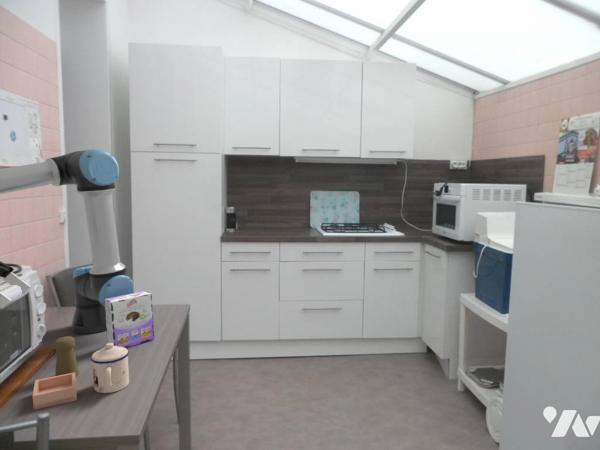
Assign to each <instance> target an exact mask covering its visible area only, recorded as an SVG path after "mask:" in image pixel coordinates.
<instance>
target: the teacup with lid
mask: <svg viewBox="0 0 600 450" xmlns="http://www.w3.org/2000/svg"><path fill="white" fill-rule="evenodd" d="M90 360H91V363H92V378H93V389H94V391H95V392H97V393H99V394H112V393H116V392H118V391H121V390H123V389H125V388H126V387H127V386H128V385H129V384H130V372H129V371H130V370H129V351H128V348H124V347H118V346H114V344H113V343H106V344H105V346H104V347H102V348H100V349H98V350H96V351H95V352H94V353H93V354H92V355H91V358H90Z"/></svg>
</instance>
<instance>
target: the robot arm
mask: <svg viewBox="0 0 600 450" xmlns="http://www.w3.org/2000/svg"><path fill="white" fill-rule="evenodd" d="M119 166H120V165H119V163H118V162H117V159H116V158H115V157H114V156H113V155H112V154H111V153H110V152H108V151H105V150H104V149H103V150H102V149H95V148H94V149H93V148H92V149H87V150H76V151H72V152H69V153H65V154H62V155H59V156H55V157H47V158H46V160H44V162H36V163H29V164H22V165H16V166H10V167H6V168H0V195H2V194H7V193H12V192H18V191H23V190H28V189H34V188H38V187H43V186H44V187H45V186H49V185H52V186H54V187H59V186H67V185H68V186H69V185H74V186H75V185H76V191H77V193H78V194H80V195H81V196H82V197H83V205H84V211H85V216H86V223H87V224H86V225H87V230H88V238H89V244H90V252H91V257H92V265H88V266H82V267H78V268H75V269H74V270H73V272H72V280H73V281H72V282H73V293H74V305H75V307H74V308H75V309H74V313H73V317H72V321H71V331H72V332H73V333H75V334H82V335H84V334H96V333H100V332H105V331H107V327H106V312H105V299H108V298H113V297H118V296H123V295H127V294H132V293H135V283H134V281H133V280H132V279H131V277H129V276H128V275H127V273H128V272H127V268H126V265H125V264H124V263H123V262H121V257H120V251H119V243H118V236H117V235H118V234H117V228H116V220H115V212H114V206H113V205H114V204H113V198H112V197H113V196H112V194H113V193H114V192H115V190H116V182H115V181H116V180H117V178H118V177H119V174H120V167H119ZM14 270H15V269H14V267H12V266H11V265H9V264H6V263H4V262H3V261H0V278H4V279H3V281H5V282H6V283H7V284H9V285H10V286H11V285H18V286H20V287H21V290H22V293H21V294H22V295H25V293H27V291H29V289H31V287H32V286H31V285H30V284H29V283H27V282H26V281H24V280H23V279H22V278H21V277H19V276H18V275H16V274H15V273H14V272H13V271H14ZM11 301H12V299H11V298H10V297H9V296H7V295H6V294H5V293H3V292H2V291H0V308H1V309H4V308H5V307H6V306H7V305H8V304H9V303H10V302H11Z"/></svg>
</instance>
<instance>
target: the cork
mask: <svg viewBox="0 0 600 450" xmlns="http://www.w3.org/2000/svg"><path fill="white" fill-rule="evenodd" d="M53 345H54V350H55V351H56V358H55V359H56V360H55V372H54V373H55V374H54V376H59V375H64V374H69V373H74V372H75V375H76V377H78V376H79V375H80V370H79V366H78V363H77V358H76V357H77V356H76V353H75V349H74V348H75V346H76V340H75V338H74V336H70V335H68V336H62V337H59V338H57V339H55V341H54V344H53Z"/></svg>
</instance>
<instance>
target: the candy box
mask: <svg viewBox="0 0 600 450" xmlns="http://www.w3.org/2000/svg"><path fill="white" fill-rule="evenodd" d="M105 312H106V327H107V330H106V337H107V339H106V340H107V341H106V342H107V343H113V344H114V346H118V347H124V348H126V349H128V348H130V347H134V346H137V345H140V344H143V343H146V342H150V341H153V340H155V326H154V325H155V324H154V312H153V295H152V293H150V292H148V291H146V290H141V291H138V292H134V293H132V294H127V295H123V296H118V297H113V298H108V299H105ZM107 343H106V344H107Z"/></svg>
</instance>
